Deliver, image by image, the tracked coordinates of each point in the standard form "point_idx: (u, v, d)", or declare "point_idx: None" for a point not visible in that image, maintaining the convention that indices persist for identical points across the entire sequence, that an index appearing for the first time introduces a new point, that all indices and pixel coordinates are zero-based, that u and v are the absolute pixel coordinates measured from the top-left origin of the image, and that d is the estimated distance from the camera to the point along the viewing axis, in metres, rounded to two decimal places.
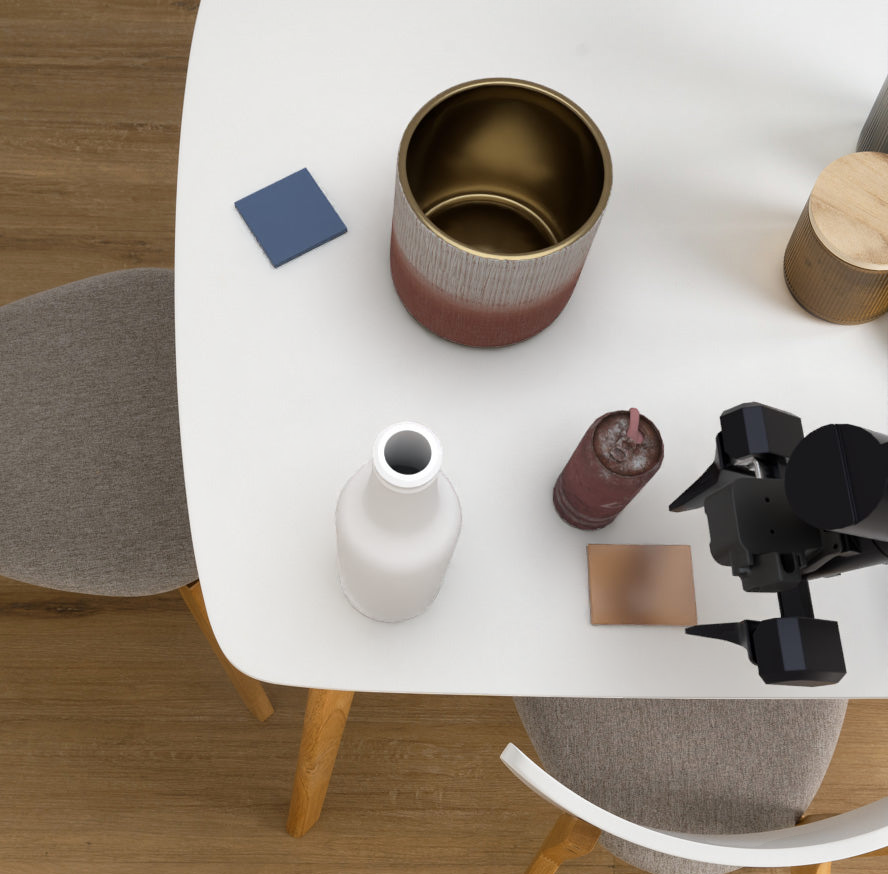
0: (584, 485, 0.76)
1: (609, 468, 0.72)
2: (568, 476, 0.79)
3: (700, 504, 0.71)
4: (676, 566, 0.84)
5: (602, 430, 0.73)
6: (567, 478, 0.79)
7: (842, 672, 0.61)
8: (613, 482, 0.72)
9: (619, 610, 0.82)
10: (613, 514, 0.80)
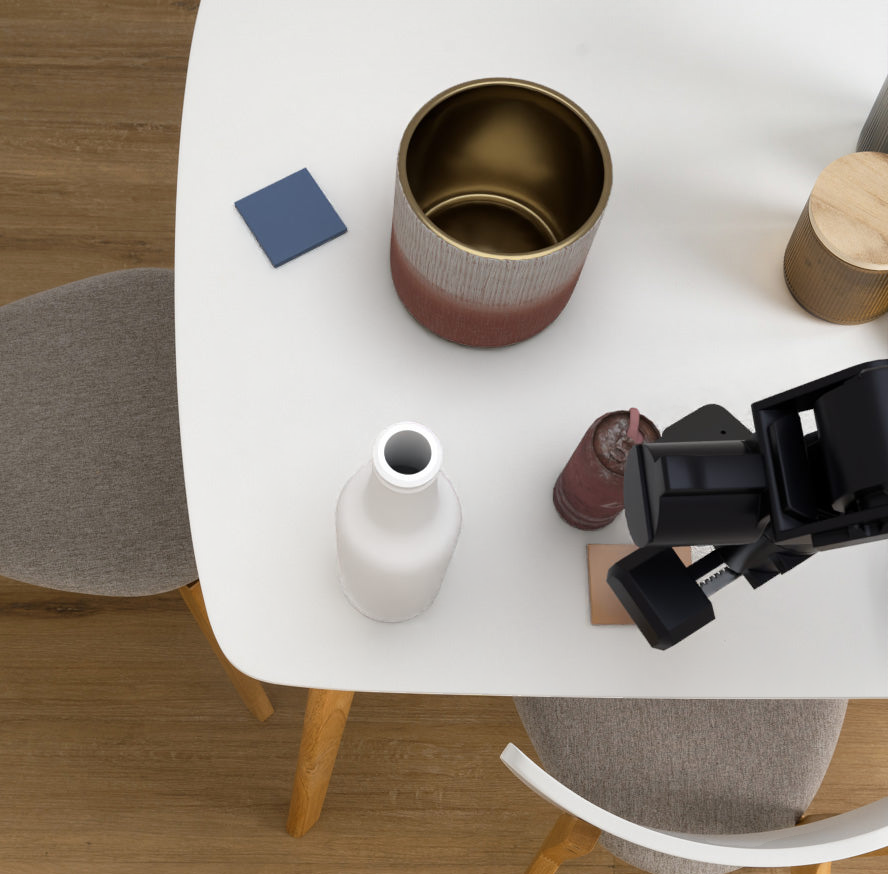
0: (584, 485, 0.76)
1: (609, 468, 0.72)
2: (568, 476, 0.79)
3: None
4: None
5: (602, 430, 0.73)
6: (567, 478, 0.79)
7: (665, 625, 0.59)
8: (613, 482, 0.72)
9: (619, 610, 0.82)
10: (613, 514, 0.80)
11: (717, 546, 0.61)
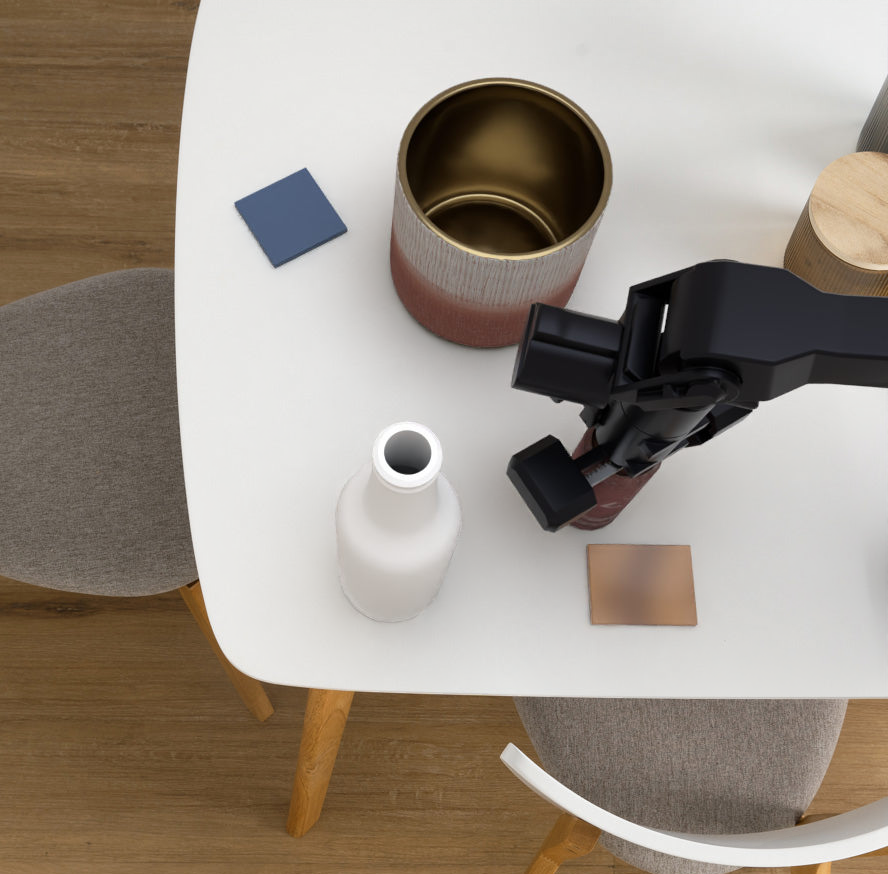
0: None
1: None
2: None
3: None
4: (676, 566, 0.84)
5: None
6: None
7: (552, 506, 0.68)
8: (613, 482, 0.72)
9: (619, 610, 0.82)
10: (613, 514, 0.80)
11: (601, 442, 0.70)
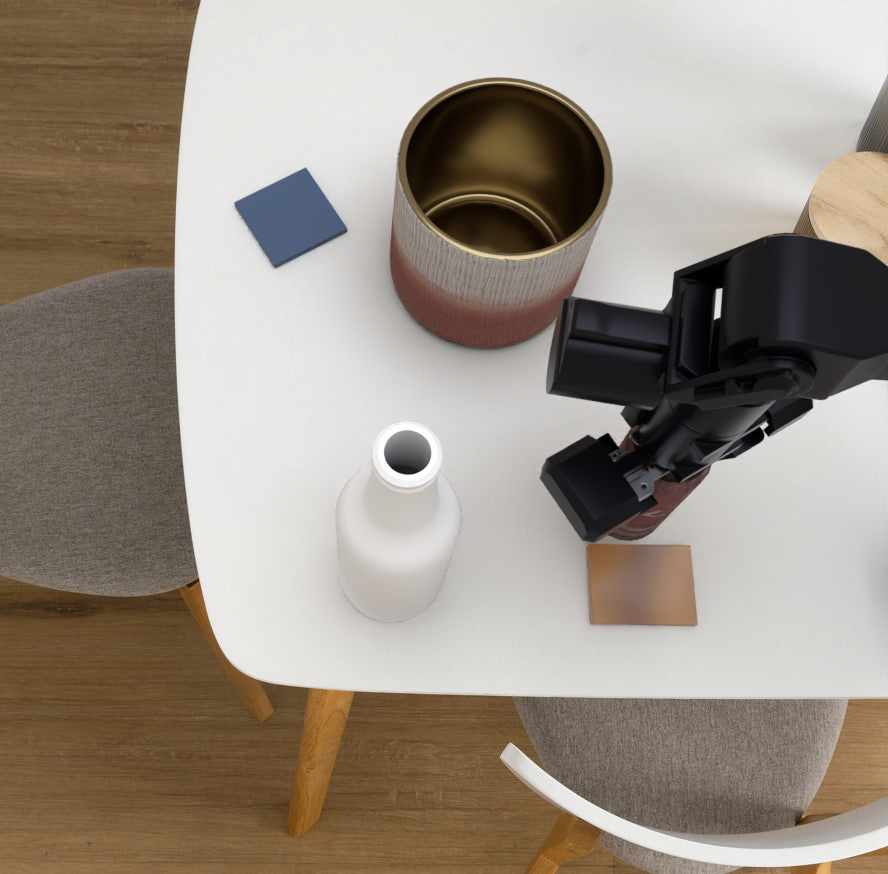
0: None
1: None
2: None
3: None
4: (676, 566, 0.84)
5: None
6: None
7: (591, 514, 0.62)
8: (658, 488, 0.66)
9: (619, 610, 0.82)
10: (655, 524, 0.74)
11: (645, 442, 0.63)
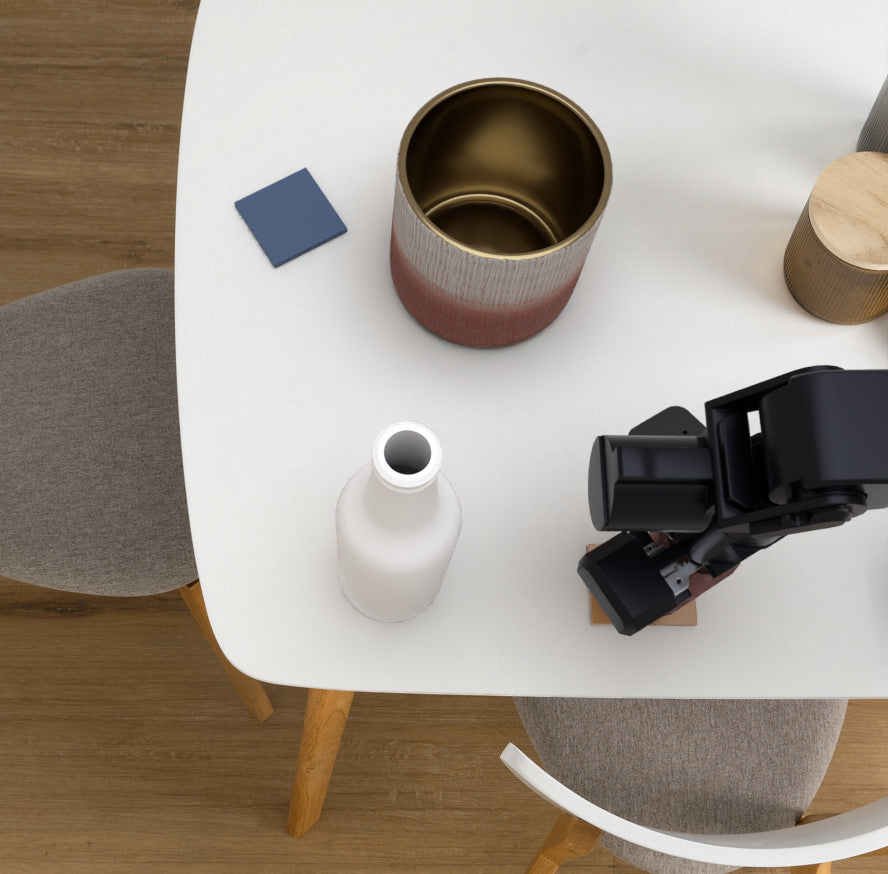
0: None
1: None
2: None
3: None
4: None
5: None
6: None
7: (629, 612, 0.63)
8: (691, 579, 0.68)
9: None
10: (684, 604, 0.76)
11: (680, 539, 0.65)
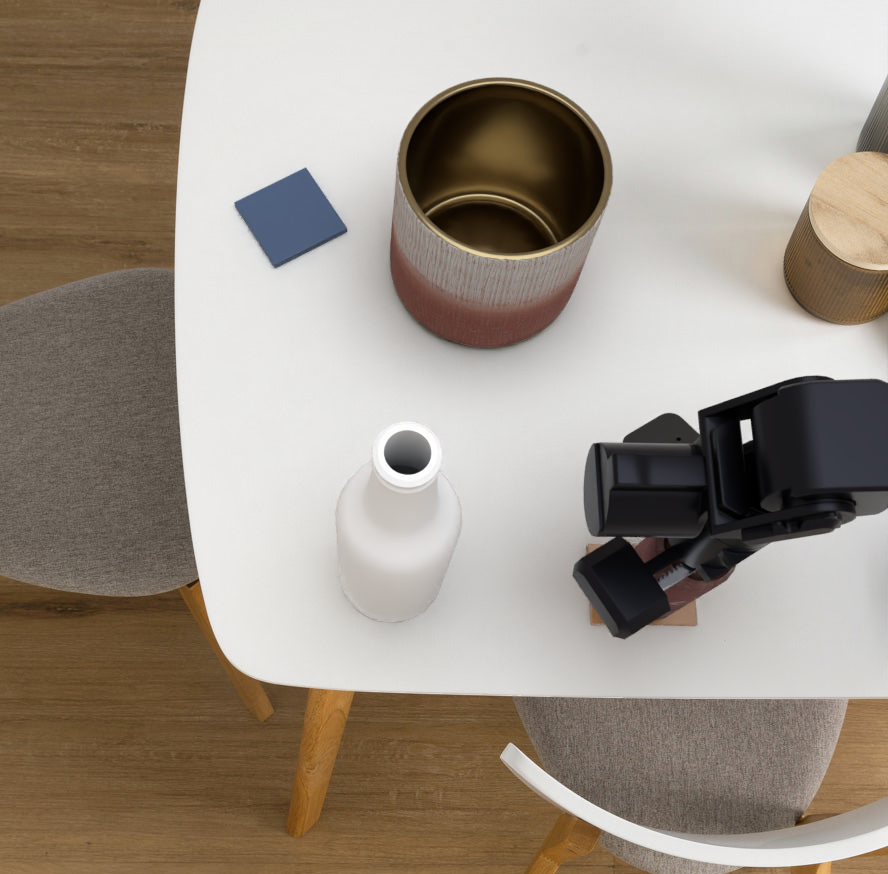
0: None
1: None
2: None
3: None
4: None
5: None
6: None
7: (624, 615, 0.65)
8: (686, 586, 0.70)
9: None
10: (678, 609, 0.77)
11: (673, 543, 0.66)
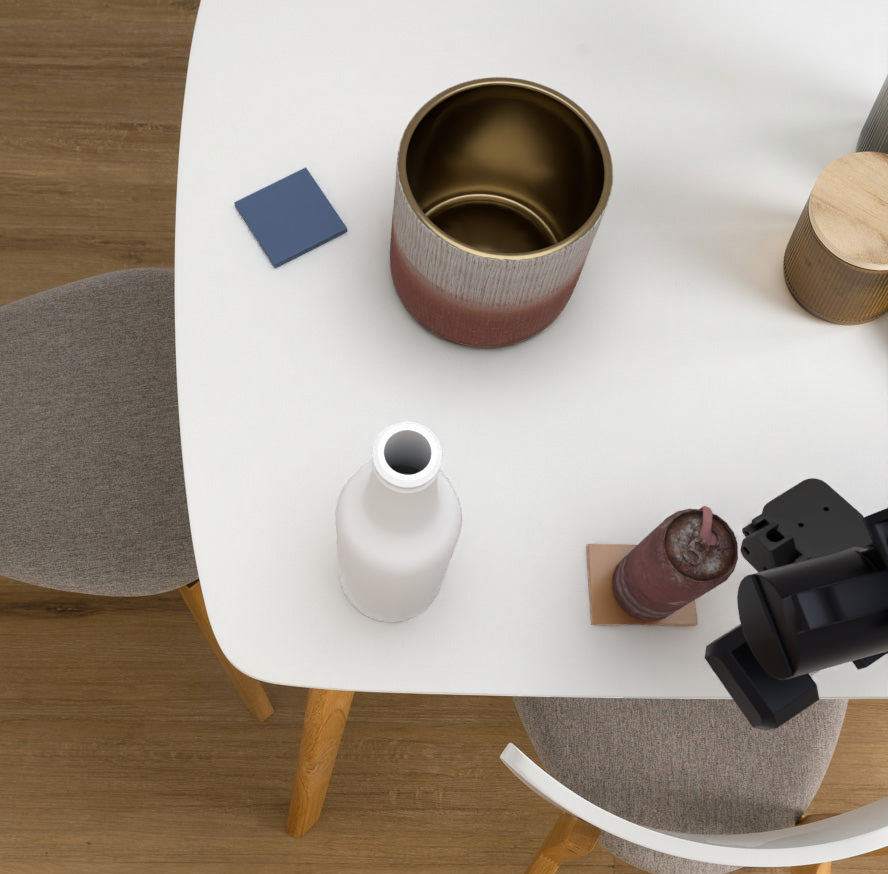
0: (652, 583, 0.73)
1: (682, 571, 0.69)
2: (633, 571, 0.76)
3: None
4: None
5: (673, 530, 0.70)
6: (632, 572, 0.76)
7: (769, 707, 0.58)
8: (686, 585, 0.70)
9: (619, 610, 0.82)
10: (678, 609, 0.77)
11: None
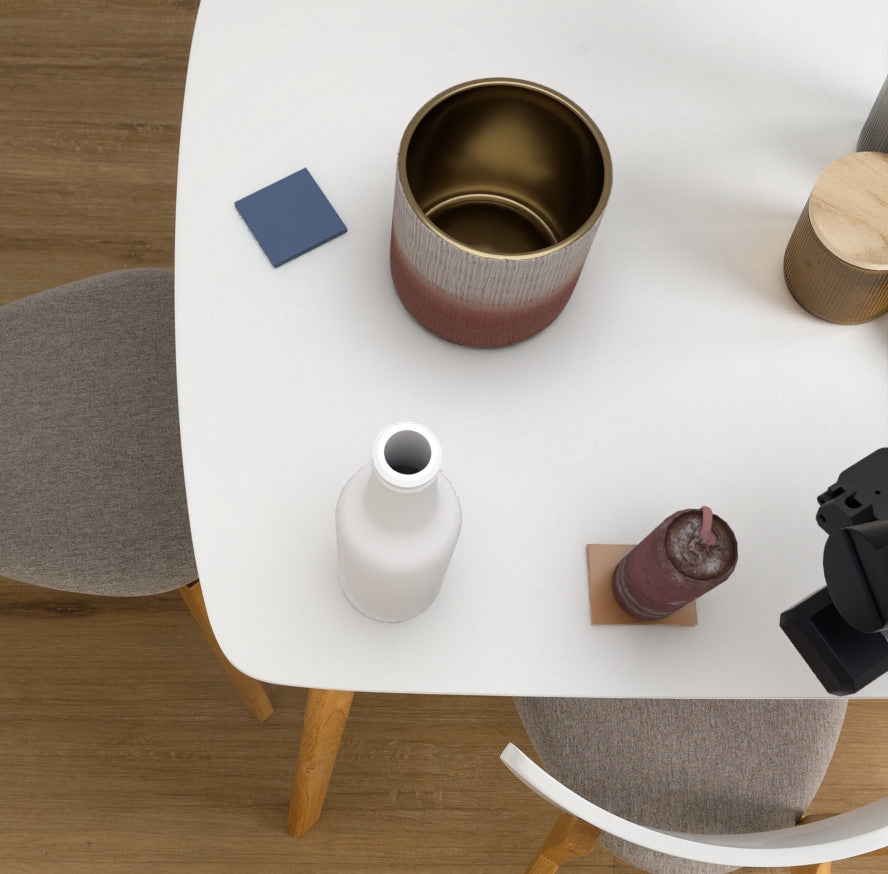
0: (652, 583, 0.73)
1: (682, 571, 0.69)
2: (633, 571, 0.76)
3: None
4: None
5: (673, 530, 0.70)
6: (632, 572, 0.76)
7: (848, 672, 0.59)
8: (686, 585, 0.70)
9: (619, 610, 0.82)
10: (678, 609, 0.77)
11: None
